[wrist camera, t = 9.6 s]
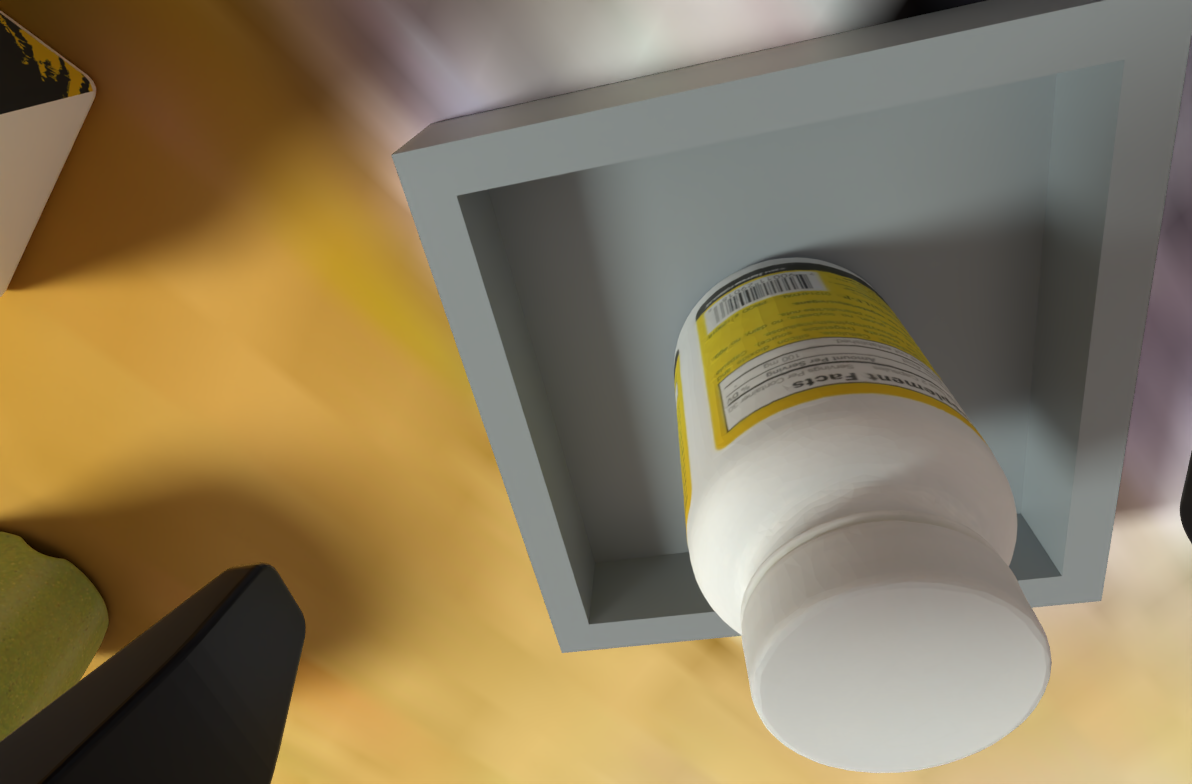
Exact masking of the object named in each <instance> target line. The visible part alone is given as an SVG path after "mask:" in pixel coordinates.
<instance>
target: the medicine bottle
mask: <svg viewBox="0 0 1192 784" xmlns="http://www.w3.org/2000/svg"><path fill="white" fill-rule="evenodd" d="M95 97H96V87H95V84H94V82H93V80H92V79H91V78H90V77H89V76H88V75H87V74H86V73H84V72H83V71H82V70H80V69H79V68H78V67H76V66H75V65H74V64H72V63H71V62H69V61H68V60H67V59H65V58H64V57H63V56H61V55H60V54H59V53H57V52H56V51H55V50H53V49H52V48H51V47H49V46H48V45H47V44H45V43H44V42H43V41H41V40H40V39H39V38H37V37H36V36H34V35H33V34H32V33H30V32H29V31H28V30H26V29H25V28H24V27H22V26H21V25H20V24H18V23H17V22H16V21H14V20H13V19H12V18H10V17H9V16H8V15H6V14H5V13H4V12H2V11H1V10H0V297H1V296H2V295H3V294H4V293H5V291H6V290H7V287H8V285H9V283H10V281H11V279H12V277H13V274H14V272H15V270H16V268H17V266H18V264H19V261H20V259H21V257H22V255H23V253H24V251H25V248H26V246H27V244H28V242H29V240H30V238H31V235H32V233H33V231H34V229H35V227H36V225H37V222H38V220H39V218H40V216H41V214H42V212H43V209H44V207H45V205H46V203H47V201H48V198H49V196H50V194H51V192H52V190H53V188H54V185H55V183H56V181H57V179H58V177H59V175H60V172H61V170H62V168H63V166H64V164H65V162H66V159H67V157H68V155H69V153H70V151H71V149H72V146H73V144H74V142H75V140H76V138H77V136H78V133H79V131H80V129H81V127H82V125H83V123H84V120H85V118H86V116H87V114H88V112H89V110H90V107H91V105H92V103H93V101H94V99H95Z"/></svg>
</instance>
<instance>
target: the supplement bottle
mask: <svg viewBox="0 0 1192 784" xmlns="http://www.w3.org/2000/svg"><path fill="white" fill-rule="evenodd" d="M674 384H675V399H676V409H677V422H678V434H679V447H680V461H681V472H682V483H683V495H684V509H685V522H686V535H687V544H688V549H689V554H690V561H691V565H692V568H693V572H694V575H695V578H696V581H697V583H698V585H699V587H700V590H701V592H702V593H703V595H704V597H705V599H706V600H707V602H708V603H709V604H710V606H711V607H712V609H713V610H714V611H715V612H716V613H717V614H718V615H719V617H720V618H721V619H722V620H723V621H724V622H725V623H726V624H728V625H729V626H730V627H731V628H732V629H734V630H735V631H736V632H738V633H739V634H740V635H742V645H743V650H744V655H745V661H746V667H747V672H748V678H749V684H750V690H751V696H752V700H753V703H754V706H755V709H756V711H757V713H758V714H759V716H760V718H761V720H762V721H763V723H764V725H765V726H766V728H767V729H768V730H769V731H770V732H771V733H772V734H773V735H774V736H775V737H776V738H777V739H778V740H779V741H780V742H782V743H783V744H784V745H785V746H787V747H788V748H790V749H791V750H793V751H794V752H796V753H798V754H800V755H802V756H804V757H806V758H808V759H811V760H813V761H815V762H818V763H820V764H824V765H827V766H830V767H835V768H840V769H845V770H851V771H859V772H870V773H899V772H908V771H916V770H922V769H926V768H931V767H936V766H940V765H944V764H948V763H951V762H953V761H956V760H959V759H962V758H965V757H967V756H970V755H972V754H975V753H977V752H979V751H981V750H983V749H985V748H987V747H989V746H991V745H993V744H994V743H996V742H997V741H999V740H1000V739H1002V738H1003V737H1005V736H1006V735H1008V734H1009V733H1010V732H1012V731H1013V730H1014V729H1016V728H1017V727H1018V726H1019V725H1020V724H1021V723H1023V722H1024V721H1025V720H1026V719H1027V717H1028V716H1029V715H1030V714H1031V713H1032V712H1033V710H1034V709H1035V708H1036V706H1037V704H1038V703H1039V701H1040V699H1041V698H1042V696H1043V694H1044V692H1045V689H1046V686H1047V684H1048V681H1049V678H1050V671H1051V664H1052V662H1051V653H1050V646H1049V643H1048V640H1047V636H1046V634H1045V632H1044V630H1043V628H1042V626H1041V624H1040V622H1039V620H1038V619H1037V617H1036V615H1035V613H1034V611H1033V610H1032V608H1031V606H1030V604H1029V603H1028V601H1027V599H1026V597H1025V595H1024V594H1023V592H1022V590H1021V588H1020V585H1019V583H1018V581H1017V579H1016V577H1015V575H1014V574H1013V572H1012V571H1011V569H1010V568H1009V565H1010V562H1011V560H1012V556H1013V552H1014V548H1015V544H1016V537H1017V512H1016V507H1015V501H1014V497H1013V494H1012V491H1011V488H1010V485H1009V482H1008V480H1007V478H1006V476H1005V474H1004V472H1003V470H1002V468H1001V467H1000V465H999V464H998V462H997V460H996V458H995V456H994V455H993V453H992V451H991V450H990V448H989V447H988V445H987V444H986V442H985V441H984V439H983V438H982V436H981V435H980V433H979V432H978V431H977V429H976V428H975V426H974V425H973V424H972V422H971V421H970V419H969V418H968V416H967V415H966V414H965V412H964V411H963V409H962V408H961V407H960V405H959V404H958V402H957V401H956V400H955V398H954V396H953V395H952V394H951V393H950V391H949V390H948V388H947V387H946V385H945V384H944V383H943V381H942V380H941V378H940V377H939V375H938V374H937V373H936V371H935V370H934V369H933V367H932V366H931V364H930V363H929V361H928V360H927V358H926V357H925V356H924V354H923V353H922V351H921V350H920V348H919V347H918V346H917V344H916V343H915V341H914V340H913V338H912V337H911V336H910V335H909V333H908V332H907V330H906V329H905V327H904V326H903V325H902V323H901V322H900V320H899V319H898V318H897V316H896V315H895V313H894V312H893V311H892V310H891V308H890V307H889V306H888V304H887V303H886V302H885V301H884V299H883V298H882V297H881V296H880V294H879V293H878V292H877V291H876V290H875V289H874V288H873V287H872V286H871V285H870V284H868V283H867V282H866V281H865V280H863V279H862V278H861V277H859V276H858V275H856V274H854V273H853V272H851V271H849V270H847V269H845V268H843V267H840V266H838V265H835V264H832V263H829V262H826V261H822V260H818V259H811V258H798V257H795V258H780V259H773V260H767V261H764V262H760V263H757V264H754V265H751V266H748V267H746V268H744V269H741V270H739V271H737V272H735V273H733V274H731V275H730V276H728V277H726V278H725V279H723V280H722V281H720V282H719V283H718V284H716V285H715V286H714V287H713V288H712V289H711V290H709V291H708V292H707V293H706V294H705V295H704V296H703V297H702V298H701V300H700V301H699V302H698V303H697V304H696V306H695V307H694V308H693V309H692V311H691V313H690V314H689V316H688V317H687V319H686V321H685V323H684V325H683V327H682V330H681V332H680V335H679V338H678V341H677V346H676V350H675V359H674Z"/></svg>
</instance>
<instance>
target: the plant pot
mask: <svg viewBox="0 0 1192 784" xmlns="http://www.w3.org/2000/svg"><path fill="white" fill-rule="evenodd" d="M108 624H109V620H108V612H107V608H106V605H105V603H104V600H103V599H102V597H101V595H100V594H99V592H98V591H97V589H96V588H95V586H94V585H93V584H92V583H91V581H90V580H89V579H88V578H87V577H86V576H85V575H84V574H83V573H82V572H81V571H80V570H79V569H78V568H77V567H75V566H74V565H73V564H72V563H70V562H69V561H67V560H65V559H61V558H55V557H51V556H47V555H44V554H41V553H39V552H37V551H36V550H34V549H32V548H31V547H30V546H29V545H28V544H27V543H26V542H25V541H24V540H23V539H22V537H20V536H17V535H14V534H10V533H6V532H1V531H0V741H1V740H3V739H4V738H5V737H7V736H8V735H9V734H11V733H12V732H13V731H15V730H16V729H17V728H19V727H20V726H21V725H23V724H24V723H25V722H26V721H28V720H29V719H30V718H32V717H33V716H34V715H36V714H37V713H38V712H40V711H41V710H42V709H44V708H45V707H46V706H48V705H49V704H50V703H52V702H53V701H54V700H55V699H57V698H58V697H59V696H61V695H62V694H63V693H65V692H66V691H67V690H69V689H70V688H71V687H73V686H74V685H75V684H77V683H78V682H79V681H80V679H81V678H82V676H83V674H84V673H85V671H86V669H87V668H88V666H89V664H90V663H91V661H92V659H93V657H94V656H95V654H96V652H97V650H98V649H99V647H100V645H101V643H102V641H103V638H104V636H105V633H106V631H107V628H108Z"/></svg>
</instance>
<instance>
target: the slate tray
mask: <svg viewBox="0 0 1192 784" xmlns="http://www.w3.org/2000/svg"><path fill="white" fill-rule="evenodd" d="M1191 36H1192V0H987V1H982V2H978V3H973V4H969V5H964V6H960V7H955V8H951V9H946V10H942V11H937V12H933V13H928V14H924V15H919V16H915V17H910V18H906V19H901V20H897V21H892V22H888V23H883V24H879V25H874V26H870V27H865V28H861V29H856V30H852V31H847V32H843V33H838V34H833V35H829V36H824V37H820V38H815V39H811V40H806V41H802V42H797V43H793V44H788V45H784V46H779V47H775V48H770V49H766V50H761V51H757V52H752V53H748V54H743V55H739V56H734V57H730V58H725V59H721V60H716V61H712V62H707V63H703V64H698V65H694V66H689V67H685V68H680V69H676V70H671V71H667V72H662V73H658V74H653V75H649V76H644V77H640V78H635V79H630V80H626V81H621V82H617V83H612V84H608V85H603V86H599V87H594V88H590V89H585V90H581V91H576V92H572V93H567V94H563V95H558V96H554V97H549V98H545V99H540V100H536V101H531V102H527V103H522V104H518V105H513V106H509V107H504V108H500V109H495V110H491V111H486V112H482V113H477V114H473V115H468V116H464V117H459V118H455V119H450V120H446V121H441V122H437V123H432V124H430V125H429V126H428V127H426V128H425V129H424V130H423V131H421V132H420V133H419V134H417V135H416V136H415V137H414V138H412V139H411V140H410V141H408V142H407V143H406V144H405V145H403V146H402V147H401V148H400V149H398V150H397V151H396V152H394V153H393V154H392V158H393V161H394V164H395V167H396V170H397V173H398V176H399V178H400V181H401V184H402V187H403V190H404V193H405V196H406V199H407V202H408V205H409V208H410V211H411V213H412V216H413V219H414V222H415V225H416V228H417V231H418V234H419V237H420V240H421V243H422V246H423V248H424V251H425V254H426V257H427V260H428V263H429V266H430V269H431V272H432V275H433V278H434V281H435V284H436V286H437V289H438V292H439V295H440V298H441V301H442V304H443V307H444V310H445V313H446V316H447V319H448V321H449V324H450V327H451V330H452V333H453V336H454V339H455V342H456V345H457V348H458V351H459V354H460V356H461V359H462V362H463V365H464V368H465V371H466V374H467V377H468V380H469V383H470V386H471V389H472V391H473V394H474V397H475V400H476V403H477V406H478V409H479V412H480V415H481V418H482V421H483V424H484V427H485V429H486V432H487V435H488V438H489V441H490V444H491V447H492V450H493V453H494V456H495V459H496V462H497V464H498V467H499V470H500V473H501V476H502V479H503V482H504V485H505V488H506V491H507V494H508V497H509V499H510V502H511V505H512V508H513V511H514V514H515V517H516V520H517V523H518V526H519V529H520V532H521V535H522V537H523V540H524V543H525V546H526V549H527V552H528V555H529V558H530V561H531V564H532V567H533V570H534V572H535V575H536V578H537V581H538V584H539V587H540V590H541V593H542V596H543V599H544V602H545V605H546V607H547V610H548V613H549V616H550V619H551V622H552V625H553V628H554V631H555V634H556V637H557V640H558V643H559V645H560V648H561V651H562V653H566V652H577V651H587V650H597V649H608V648H618V647H628V646H639V645H649V644H659V643H670V642H680V641H691V640H701V639H711V638H722V637H732V636H742V635H740V634H739V633H738V632H736V631H735V630H734V629H732V628H731V627H730V626H729V625H728V624H726V623H725V622H724V621H723V620H722V619H721V618H720V617H719V615H718V614H717V613H716V612H715V611H714V610H713V609H712V607H711V606H710V604H709V603H708V602H707V600H706V599H705V597H704V595H703V593H702V592H701V590H700V587H699V585H698V583H697V581H696V578H695V575H694V572H693V568H692V565H691V561H690V554H689V549H688V544H687V535H686V522H685V509H684V495H683V483H682V472H681V461H680V447H679V434H678V422H677V409H676V399H675V384H674V359H675V350H676V346H677V341H678V338H679V335H680V332H681V330H682V327H683V325H684V323H685V321H686V319H687V317H688V316H689V314H690V313H691V311H692V309H693V308H694V307H695V306H696V304H697V303H698V302H699V301H700V300H701V298H702V297H703V296H704V295H705V294H706V293H707V292H708V291H709V290H711V289H712V288H713V287H714V286H715V285H716V284H718V283H719V282H720V281H722V280H723V279H725V278H726V277H728V276H730V275H731V274H733V273H735V272H737V271H739V270H741V269H744V268H746V267H748V266H751V265H754V264H757V263H760V262H764V261H767V260H773V259H780V258H795V257H798V258H811V259H818V260H822V261H826V262H829V263H832V264H835V265H838V266H840V267H843V268H845V269H847V270H849V271H851V272H853V273H854V274H856V275H858V276H859V277H861V278H862V279H863V280H865V281H866V282H867V283H868V284H870V285H871V286H872V287H873V288H874V289H875V290H876V291H877V292H878V293H879V294H880V296H881V297H882V298H883V299H884V301H885V302H886V303H887V304H888V306H889V307H890V308H891V310H892V311H893V312H894V313H895V315H896V316H897V318H898V319H899V320H900V322H901V323H902V325H903V326H904V327H905V329H906V330H907V332H908V333H909V335H910V336H911V337H912V338H913V340H914V341H915V343H916V344H917V346H918V347H919V348H920V350H921V351H922V353H923V354H924V356H925V357H926V358H927V360H928V361H929V363H930V364H931V366H932V367H933V369H934V370H935V371H936V373H937V374H938V375H939V377H940V378H941V380H942V381H943V383H944V384H945V385H946V387H947V388H948V390H949V391H950V393H951V394H952V395H953V396H954V398H955V400H956V401H957V402H958V404H959V405H960V407H961V408H962V409H963V411H964V412H965V414H966V415H967V416H968V418H969V419H970V421H971V422H972V424H973V425H974V426H975V428H976V429H977V431H978V432H979V433H980V435H981V436H982V438H983V439H984V441H985V442H986V444H987V445H988V447H989V448H990V450H991V451H992V453H993V455H994V456H995V458H996V460H997V462H998V464H999V465H1000V467H1001V468H1002V470H1003V472H1004V474H1005V476H1006V478H1007V480H1008V482H1009V485H1010V488H1011V491H1012V494H1013V497H1014V501H1015V507H1016V512H1017V537H1016V544H1015V548H1014V552H1013V556H1012V560H1011V562H1010V565H1009V568H1010V569H1011V571H1012V572H1013V574H1014V575H1015V577H1016V579H1017V581H1018V583H1019V585H1020V588H1021V590H1022V592H1023V594H1024V595H1025V597H1026V599H1027V601H1028V603H1029V604H1030V606H1031V608H1032V607H1043V606H1053V605H1063V604H1074V603H1084V602H1094V601H1101V599H1102V593H1103V587H1104V580H1105V574H1106V568H1107V562H1108V555H1109V549H1110V543H1111V537H1112V530H1113V524H1114V518H1115V512H1116V505H1117V499H1118V493H1119V486H1120V480H1121V474H1122V468H1123V461H1124V455H1125V449H1126V443H1127V436H1128V430H1129V424H1130V418H1131V411H1132V405H1133V399H1134V393H1135V386H1136V380H1137V374H1138V367H1139V361H1140V355H1141V349H1142V342H1143V336H1144V330H1145V324H1146V317H1147V311H1148V305H1149V299H1150V292H1151V286H1152V280H1153V274H1154V267H1155V261H1156V255H1157V249H1158V242H1159V236H1160V230H1161V223H1162V217H1163V211H1164V205H1165V198H1166V192H1167V186H1168V180H1169V173H1170V167H1171V161H1172V155H1173V148H1174V142H1175V136H1176V130H1177V123H1178V117H1179V111H1180V104H1181V98H1182V92H1183V86H1184V79H1185V73H1186V67H1187V61H1188V54H1189V48H1190V42H1191Z"/></svg>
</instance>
